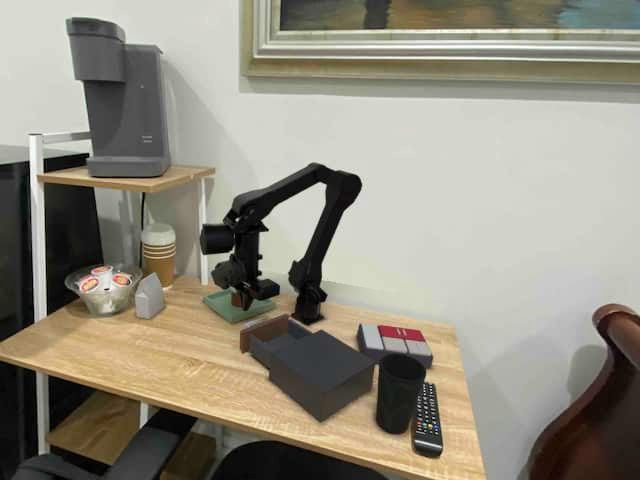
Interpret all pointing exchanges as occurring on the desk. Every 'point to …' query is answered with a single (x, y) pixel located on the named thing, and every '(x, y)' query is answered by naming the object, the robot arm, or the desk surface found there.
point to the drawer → (269, 336)
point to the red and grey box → (393, 343)
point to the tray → (233, 314)
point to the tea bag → (149, 297)
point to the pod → (234, 298)
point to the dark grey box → (321, 373)
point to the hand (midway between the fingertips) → (245, 310)
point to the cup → (398, 391)
